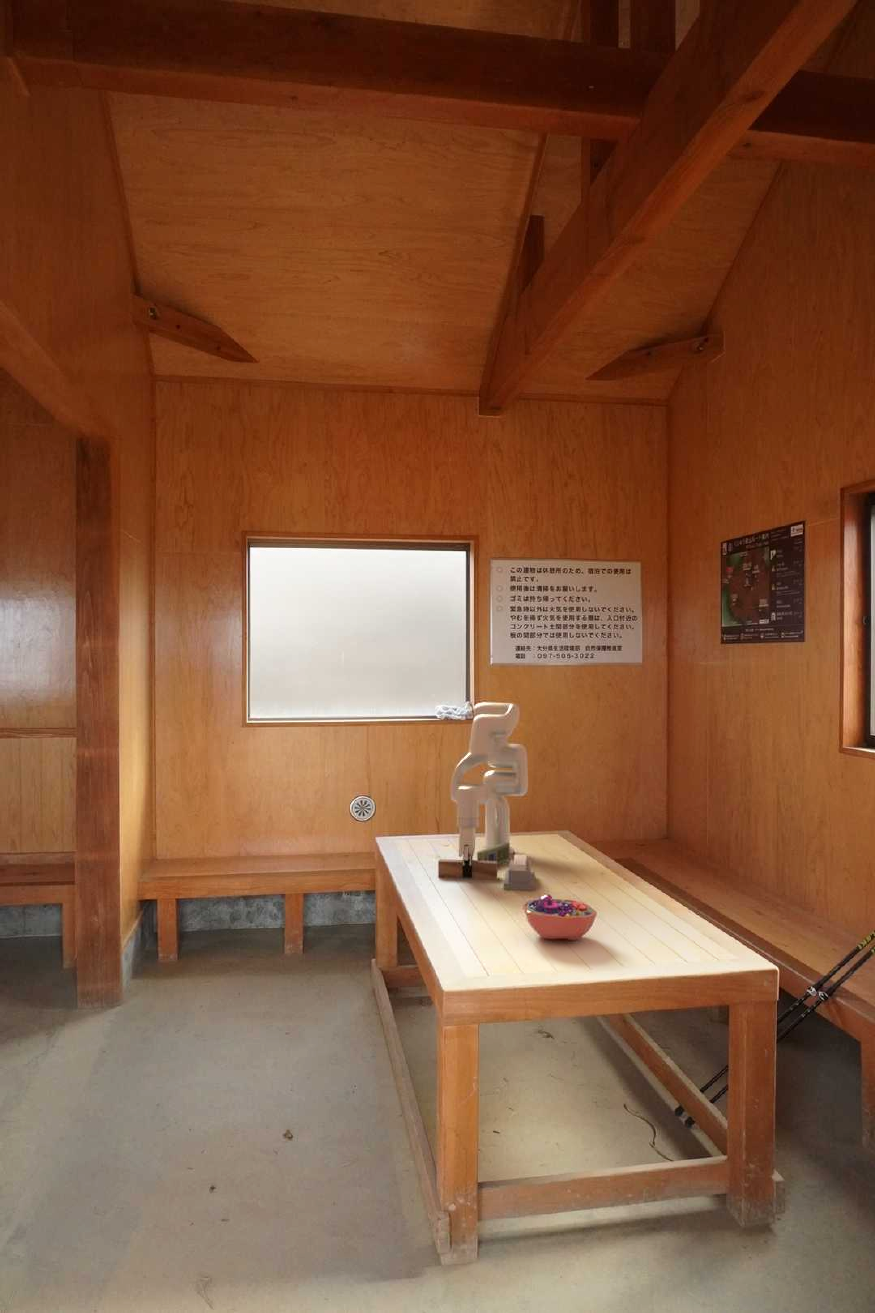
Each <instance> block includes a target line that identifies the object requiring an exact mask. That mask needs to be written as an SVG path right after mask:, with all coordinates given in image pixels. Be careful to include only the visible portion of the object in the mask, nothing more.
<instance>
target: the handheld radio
mask: <svg viewBox="0 0 875 1313" xmlns="http://www.w3.org/2000/svg"><path fill="white" fill-rule="evenodd" d="M510 847H511V846H510ZM510 847H509V843H507V842H505V843H502V844H499V845H496V846H493V847H490V848H487V849H484V850H481V849H480V850H479V851H477V852H476V853H477V855H476V857H477V860H480V861H497V866H498V865H500V864H502V863H503V864H504V863H505V862H508V861H510V860H511V859H510V858H511V856H510Z"/></svg>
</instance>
